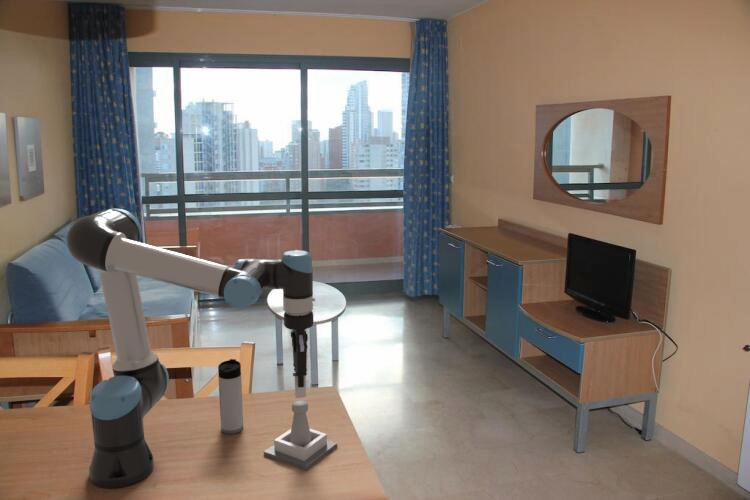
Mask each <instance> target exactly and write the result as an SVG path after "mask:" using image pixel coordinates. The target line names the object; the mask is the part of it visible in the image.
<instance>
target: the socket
mask: <svg viewBox="0 0 750 500" xmlns="http://www.w3.org/2000/svg"><path fill="white" fill-rule="evenodd" d="M309 429H310V433H311V442H310V443H309V444H307V445H306V446H304V447H301V446H298V445H295V444H293V443H290V434H291V428H290V429H288V430H287V431H286V432H284V433H283V434H281V435H279V436H278V437H277V438H275V439H274V440H273V443H274V444H273V445H271V446H270V447H268V448H267V449H265V450H263V456H266V457H269V458H272V459H274V460H277V461H279V462H282V463H284V464H288V465H289V466H293V467H296V468H297V469H298V468H299V469H301V470H303V471H308V470H309V469H310V468H311V467H313V466H314V465H315V464H316V463H318V462H319V461H320V460H321V459H323V458H324V457H326V456H327V455H328V454H329V453H331V452H332V451H333V450H334V449H335V448H337V447H338V442H335V441H334V440H330V439H328V434H327V433H324V432H322V431H319V430H315V429H312V428H310V427H309Z"/></svg>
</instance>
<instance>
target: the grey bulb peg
mask: <svg viewBox="0 0 750 500" xmlns="http://www.w3.org/2000/svg"><path fill="white" fill-rule="evenodd" d="M308 410H309V403H308V402H307V401H306V400H301V399H300V400H296V401H293V403H292V404H291V411H292V412H293V417H292V422H291V423H292V424H291V428H290V429H291V434H290V443H293V444H295V445H298V446H301V447H304V446H306V445H307V444H309V443H310V442H311V433H310V429H311V428H310V425H309V422H308V416H307V412H308ZM309 428H310V429H309Z"/></svg>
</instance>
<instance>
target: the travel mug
mask: <svg viewBox="0 0 750 500" xmlns="http://www.w3.org/2000/svg"><path fill="white" fill-rule="evenodd" d="M217 368H218V371H217V372H218V393H219V394H218V395H219V396H218V397H219V413H220V419H219V420H220V429H221V432H222V433H223V434H227V435H228V434H229V435H233V434H238V433H239V432H241V431H242V430H243V429H244V415H243V414H244V412H243V411H244V410H243V408H244V407H243V385H242V384H243V383H242V371H241V370H242V366H241V362H239V361H238V360H237V359H235V358H233V359H232V358H230V359H229V360H224V361H222V362H220V363H219V365H218V366H217Z"/></svg>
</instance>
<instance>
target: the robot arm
mask: <svg viewBox="0 0 750 500" xmlns="http://www.w3.org/2000/svg"><path fill="white" fill-rule="evenodd" d="M142 234H143V233H142V225H141V223H140V222H139V220H138V218H137V217H136V216H135V215H134V214H132V212H129V211H128V210H126V209H122V208H117V207H116V208H107V209H102V210H101V211H98V212H96V213H92V214H90V215H87V216H83V217H81V218H78V220H75V222H74V223H72V225H71V226H70V227H69V229H68V232H67V235H66V246H67V249H68V251H69V253H70V255H71V256H72V257H73V258H74V259H75V260H76V261H77V262H78V263H81V264H83V265H85V266H87V267H90V268H92V269H94V270H96V271H97V272H98V274H99V276H100V277H99V278H100V282H101V286H102V292H103V296H104V301H105V305H106V310H107V316H108V320H109V326H110V331H111V335H112V342H113V345H114V350H115V356H116V360H115V361H114V362H113V363H112V371H113V376H112V377H109V378H108V379H104V380H101V381H100V382H99V383H98V384H96V385H95V386H94V387H93V389H92V390H91V392H90V398H89V401H90V402H89V410H90V415H91V423H92V433H93V434H92V435H93V443H94V450H93V453H92V458H91V463H90V465H89V471H88V472H89V480H90V481H91V483H92V484H93V485H95V486H97V487H100V488H104V489H105V488H106V489H116V488H117V489H118V488H122V487H123V488H124V487H127V486H132V485H134V484H137V483H139V482H141V481H143V480H144V479H146V478H147V477H149V475H150V474H151V473H152V472H153V470H154V468H155V462H154V455H153V454H152V451H151V449H150V447H149V445H148V443H147V441H146V439H145V429H144V427H145V426H144V417H146V415H147V414H148V413H149V412H150V410H151V409H153V407H155V405H156V404H157V403H158V402H159V401H160V400H161V399H162V398H163V396H164V395H165V393H166V391H167V389H168V386H169V381H170V377H169V372H168V370H167V367H166V366H165V365H164V364H162V363H161V361H160V359H159V356H158V354H156V353H155V352H154V351H152V348H151V345H150V339H149V334H148V329H147V323H146V319H145V314H144V309H143V303H142V297H141V291H140V288H139V282H138V281H139V280H138V277H137V276H140V277H143V278H147V279H151V280H153V281H158V282H161V283H165V284H169V285H173V286H176V287H179V288H184V289H187V290H191V291H195V292H198V293H203V294H206V295H210V296H213V297H217V298H221V299H224V300H225V302H226V303H227V304H228V305H229V306H230V307H232V308H234V309H238V310H239V309H240V310H242V309H247V308H249V307H251V306H252V305H253V304H254V303H256V302H257V301H258V300H259V298H260V296H261V295H262V294H263V293H264V292H265V290H282V291H283V294H282V303H283V307H282V309H283V324H284V327H285V328H286V329H289V330H291V331H290V339H291V346H292V358H293V360H292V362H293V364H292V365H293V370H294V372H292V376H293V377H294V397H295V399H301V398H307V387H306V386H307V385H306V384H307V383H306V382H307V381H306V378H307V375H308V374H307V371H308V368H307V358H308V357H307V356H308V355H307V354H308V353H307V352H308V348H309V347H308V338H309V337H308V333H307V329H310V328H312V327H313V326H314V311H313V310H314V303H313V302H316V298H315V297H314V293H313V292H314V290H313V289H314V287H313V286H314V284H313V282H314V280H313V279H314V275H313V274H314V272H313V271H314V269H313V261H312V258H313V257H312V255H311V253H309V252H308V251H307V250H302V249H301V250H297V249H295V250H289V251H288V250H287V251H285V252H283V253H282V254H281V258H280V259H272V258H271V259H269V258H267V259H266V258H265V259H264V258H252V257H251V258H249V257H248V258H241V259H238V260H236V261H235V264H234V266H233V267H231V266H228V265H224V264H220V263H217V262H213V261H209V260H205V259H202V258H198V257H195V256H191V255H187V254H184V253H180V252H177V251H172V250H168V249H165V248H162V247H158V246H155V245H150V244H148V243H144V242H141V239H142V236H143V235H142Z"/></svg>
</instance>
